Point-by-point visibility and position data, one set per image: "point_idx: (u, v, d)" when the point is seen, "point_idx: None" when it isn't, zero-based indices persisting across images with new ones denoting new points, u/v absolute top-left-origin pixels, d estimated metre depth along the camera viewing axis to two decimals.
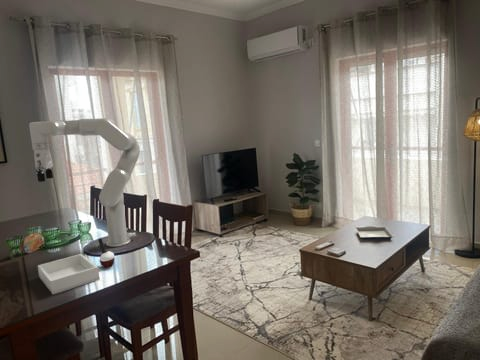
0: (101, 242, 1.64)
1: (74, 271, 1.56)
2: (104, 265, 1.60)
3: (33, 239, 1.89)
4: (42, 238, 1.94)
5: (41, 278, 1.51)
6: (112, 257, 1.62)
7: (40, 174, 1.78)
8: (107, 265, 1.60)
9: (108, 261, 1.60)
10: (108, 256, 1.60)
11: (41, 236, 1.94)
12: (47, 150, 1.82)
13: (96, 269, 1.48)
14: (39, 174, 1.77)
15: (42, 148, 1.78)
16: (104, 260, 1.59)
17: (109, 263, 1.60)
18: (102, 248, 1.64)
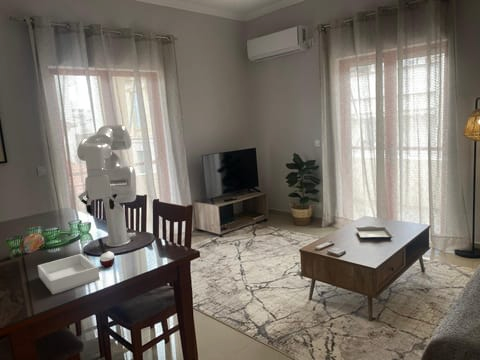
0: (101, 242, 1.64)
1: (74, 271, 1.56)
2: (104, 265, 1.60)
3: (33, 239, 1.89)
4: (42, 238, 1.94)
5: (41, 278, 1.51)
6: (112, 257, 1.62)
7: None
8: (107, 265, 1.60)
9: (108, 261, 1.60)
10: (108, 256, 1.60)
11: (41, 236, 1.94)
12: None
13: (96, 269, 1.48)
14: None
15: None
16: (104, 260, 1.59)
17: (109, 263, 1.60)
18: (102, 248, 1.64)
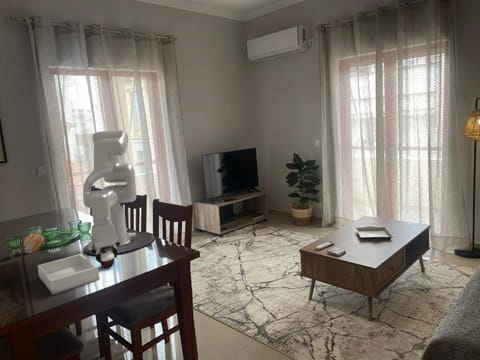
0: None
1: (74, 271, 1.56)
2: (104, 265, 1.60)
3: (33, 239, 1.89)
4: (42, 238, 1.94)
5: (41, 278, 1.51)
6: (112, 257, 1.62)
7: None
8: (107, 265, 1.60)
9: (108, 261, 1.60)
10: (108, 256, 1.60)
11: (41, 236, 1.94)
12: None
13: (96, 269, 1.48)
14: None
15: None
16: (104, 260, 1.59)
17: (109, 263, 1.60)
18: (102, 248, 1.64)
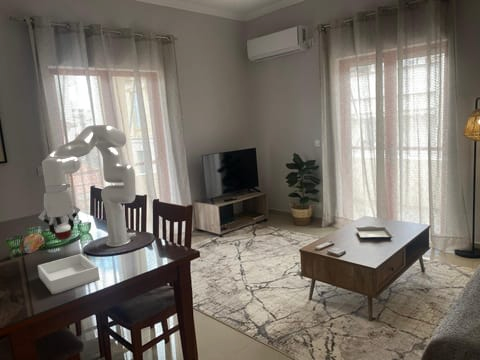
0: None
1: (74, 271, 1.56)
2: (59, 237, 1.46)
3: (33, 239, 1.89)
4: (42, 238, 1.94)
5: (41, 278, 1.51)
6: (68, 228, 1.47)
7: None
8: (62, 237, 1.46)
9: (63, 232, 1.45)
10: (63, 227, 1.46)
11: (41, 236, 1.94)
12: None
13: (96, 269, 1.48)
14: None
15: None
16: (58, 231, 1.45)
17: (64, 235, 1.46)
18: (57, 218, 1.49)
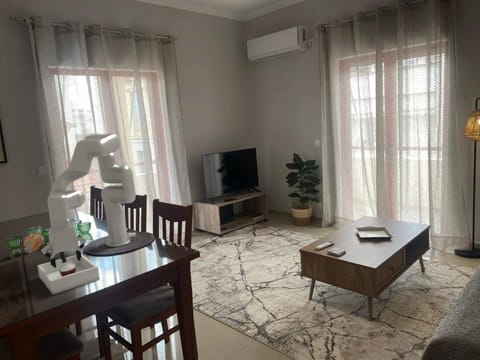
0: None
1: None
2: None
3: (33, 239, 1.89)
4: (42, 238, 1.94)
5: (41, 278, 1.51)
6: (73, 267, 1.50)
7: None
8: None
9: (68, 271, 1.48)
10: (68, 266, 1.49)
11: (41, 236, 1.94)
12: None
13: (96, 269, 1.48)
14: None
15: None
16: (64, 270, 1.48)
17: (69, 273, 1.49)
18: (62, 257, 1.52)
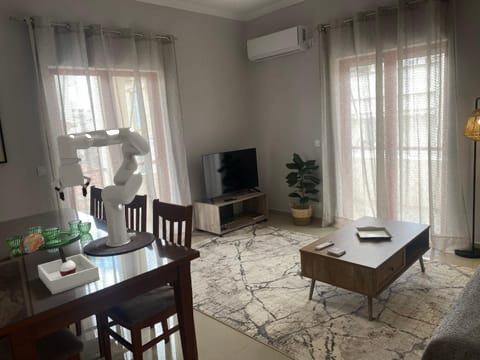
0: (61, 251, 1.52)
1: None
2: None
3: (33, 239, 1.89)
4: (42, 238, 1.94)
5: (41, 278, 1.51)
6: (73, 267, 1.50)
7: None
8: None
9: (68, 271, 1.48)
10: (68, 266, 1.49)
11: (41, 236, 1.94)
12: None
13: (96, 269, 1.48)
14: None
15: None
16: (64, 270, 1.48)
17: (69, 273, 1.49)
18: (62, 257, 1.52)
